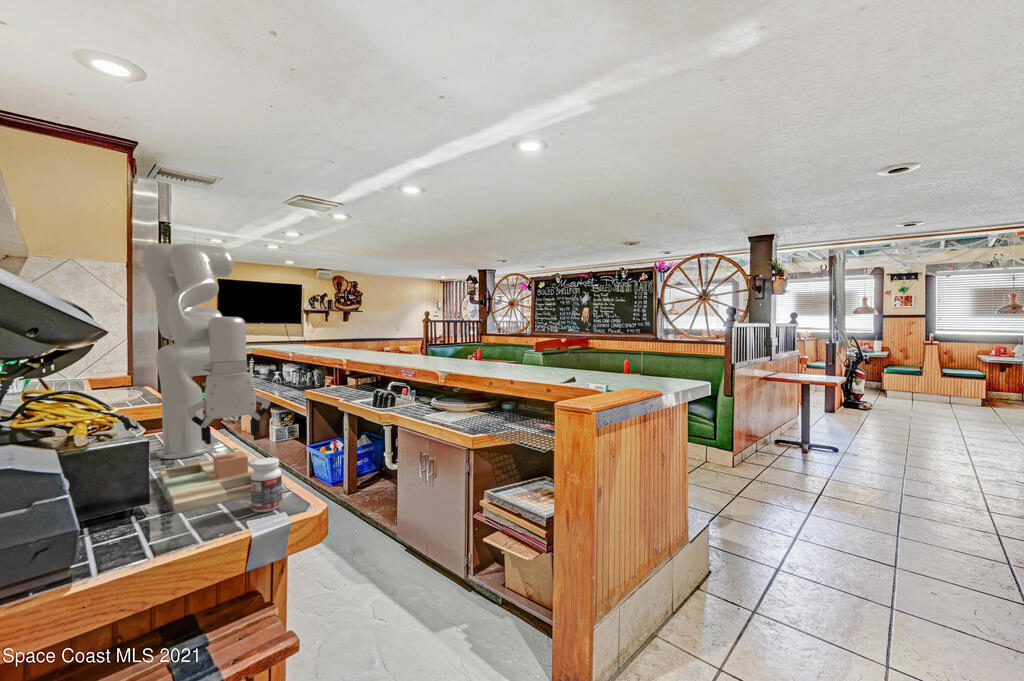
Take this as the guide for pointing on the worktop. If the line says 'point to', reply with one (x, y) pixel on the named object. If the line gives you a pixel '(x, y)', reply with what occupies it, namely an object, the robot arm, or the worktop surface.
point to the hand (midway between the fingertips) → (231, 439)
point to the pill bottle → (266, 485)
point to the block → (230, 464)
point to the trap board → (202, 486)
